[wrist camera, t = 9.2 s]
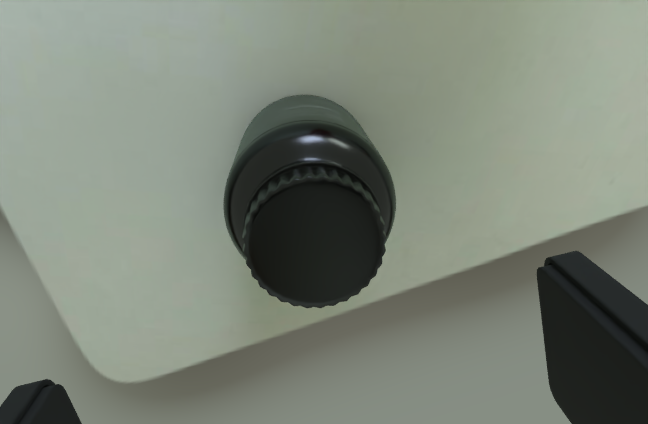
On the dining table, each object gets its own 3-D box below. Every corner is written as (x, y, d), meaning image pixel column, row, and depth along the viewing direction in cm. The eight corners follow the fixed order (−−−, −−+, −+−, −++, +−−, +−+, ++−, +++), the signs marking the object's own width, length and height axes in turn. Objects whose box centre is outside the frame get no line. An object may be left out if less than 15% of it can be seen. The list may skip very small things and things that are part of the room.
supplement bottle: (216, 179, 29) (169, 276, 18) (282, 67, 27) (276, 95, 16) (325, 240, 31) (344, 365, 19) (393, 138, 29) (458, 209, 18)
